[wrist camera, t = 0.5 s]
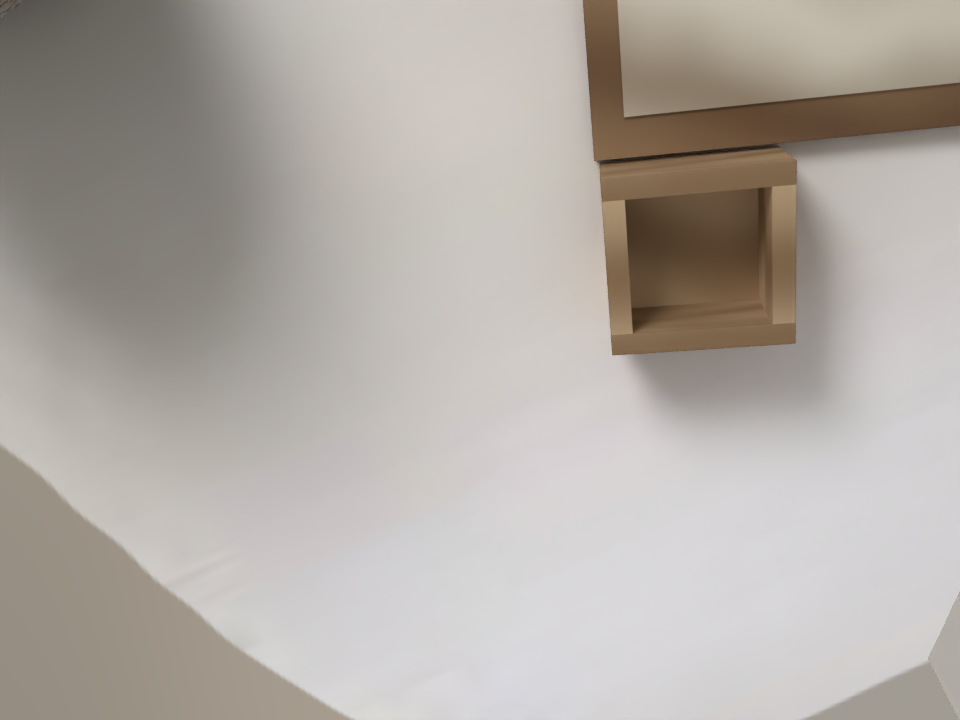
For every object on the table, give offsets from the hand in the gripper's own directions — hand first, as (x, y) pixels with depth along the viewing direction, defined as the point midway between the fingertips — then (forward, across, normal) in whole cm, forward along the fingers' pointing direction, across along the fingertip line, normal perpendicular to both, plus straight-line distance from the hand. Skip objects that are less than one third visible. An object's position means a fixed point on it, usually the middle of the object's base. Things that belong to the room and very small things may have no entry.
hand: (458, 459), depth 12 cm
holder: (+26, +6, -2) cm, 26 cm away
